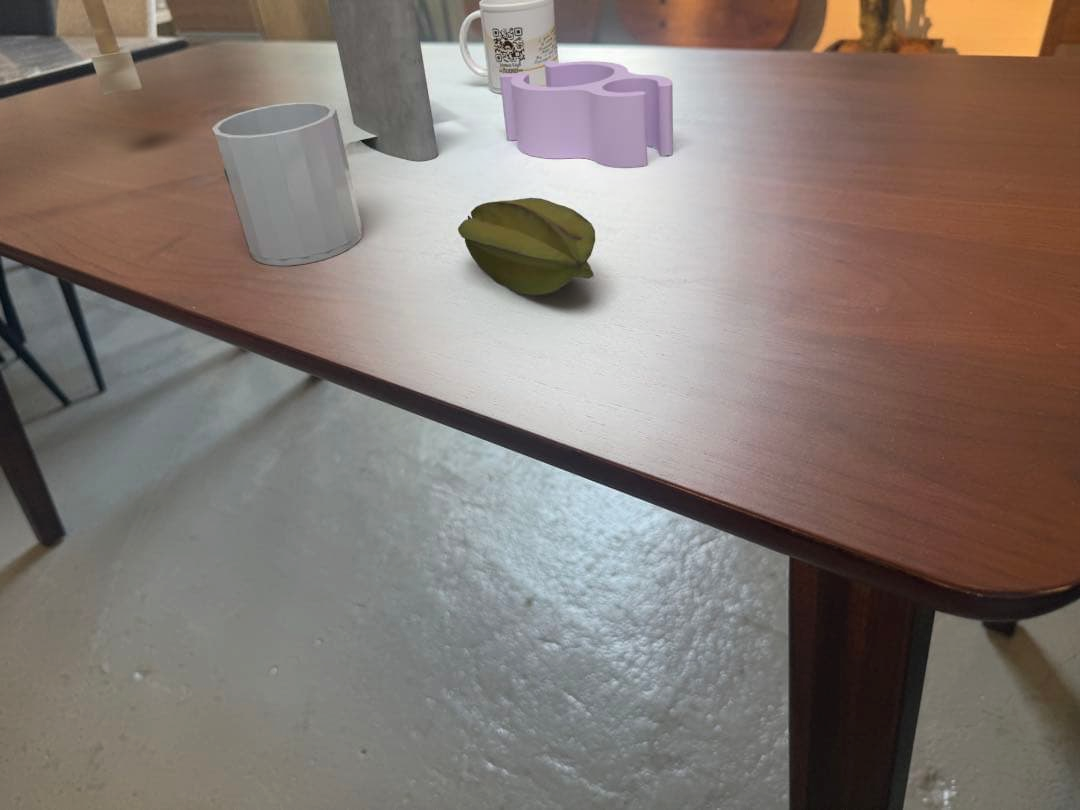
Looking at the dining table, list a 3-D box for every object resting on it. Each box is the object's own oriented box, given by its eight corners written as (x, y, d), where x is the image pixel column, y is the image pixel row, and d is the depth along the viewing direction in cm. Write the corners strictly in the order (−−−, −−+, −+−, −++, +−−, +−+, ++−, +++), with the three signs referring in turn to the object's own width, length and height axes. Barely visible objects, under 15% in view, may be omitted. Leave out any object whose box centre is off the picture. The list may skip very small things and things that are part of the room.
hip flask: (443, 155, 95) (411, -47, 84) (412, 165, 93) (375, -41, 82) (375, 131, 106) (339, -51, 95) (345, 139, 104) (305, -45, 93)
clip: (698, 143, 90) (699, 75, 86) (615, 177, 84) (611, 105, 80) (569, 116, 103) (565, 56, 100) (488, 144, 97) (480, 80, 93)
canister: (260, 276, 72) (221, 145, 66) (242, 238, 80) (205, 118, 74) (375, 246, 75) (348, 118, 69) (347, 212, 83) (320, 95, 77)
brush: (104, 95, 95) (37, -92, 85) (103, 89, 98) (39, -93, 88) (142, 88, 96) (81, -97, 86) (140, 82, 99) (80, -98, 89)
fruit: (610, 250, 70) (606, 170, 66) (594, 321, 60) (588, 232, 56) (474, 253, 72) (463, 176, 68) (436, 322, 62) (421, 236, 58)
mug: (513, 99, 113) (504, 8, 107) (462, 87, 121) (450, 2, 115) (574, 81, 118) (568, -7, 112) (521, 71, 126) (512, -12, 120)
